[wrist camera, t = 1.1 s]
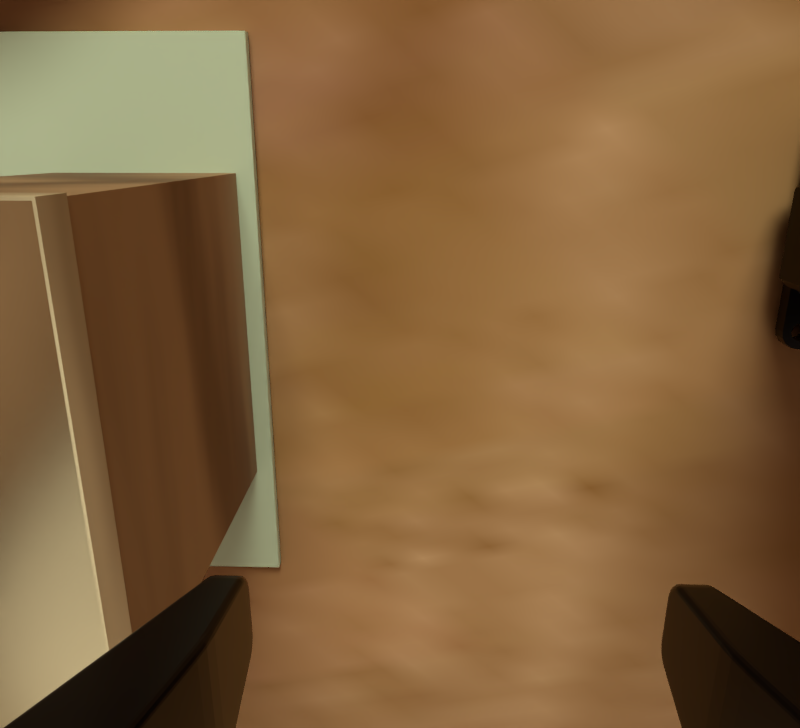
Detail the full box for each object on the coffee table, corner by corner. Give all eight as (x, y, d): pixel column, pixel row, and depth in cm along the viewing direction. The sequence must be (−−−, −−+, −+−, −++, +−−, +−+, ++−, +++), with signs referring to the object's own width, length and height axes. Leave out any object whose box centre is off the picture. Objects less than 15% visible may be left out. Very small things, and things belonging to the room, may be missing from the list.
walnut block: (237, 171, 18) (35, 197, 9) (258, 472, 21) (124, 744, 11) (52, 170, 18) (-350, 195, 9) (98, 470, 21) (-167, 736, 12)
